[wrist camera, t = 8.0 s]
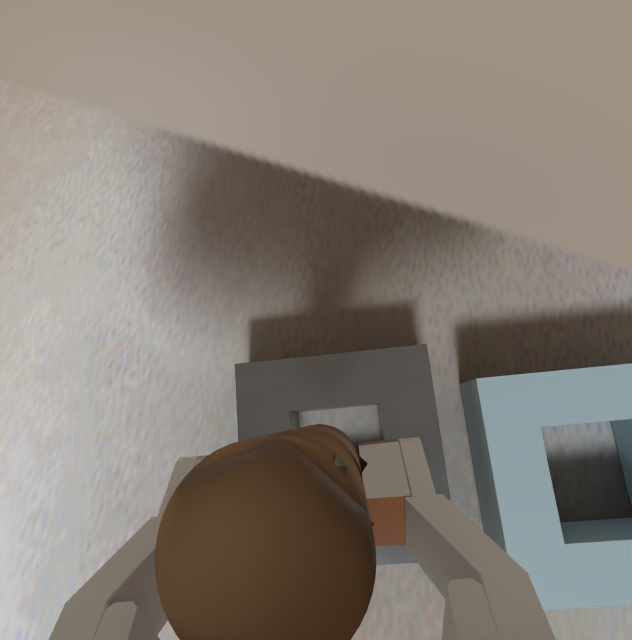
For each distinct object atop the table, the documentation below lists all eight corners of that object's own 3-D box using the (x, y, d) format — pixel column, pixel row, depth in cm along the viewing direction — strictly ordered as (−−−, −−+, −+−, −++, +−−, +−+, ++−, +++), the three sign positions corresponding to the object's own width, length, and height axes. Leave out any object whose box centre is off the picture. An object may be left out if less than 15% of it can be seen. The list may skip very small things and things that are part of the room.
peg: (284, 508, 16) (154, 690, 5) (279, 427, 17) (155, 446, 6) (363, 502, 16) (390, 677, 5) (354, 421, 17) (362, 428, 6)
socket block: (259, 553, 23) (244, 573, 20) (249, 369, 25) (235, 363, 22) (446, 540, 22) (459, 559, 19) (418, 352, 24) (426, 343, 22)
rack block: (492, 580, 22) (517, 611, 18) (459, 383, 24) (476, 378, 20) (700, 568, 21) (767, 597, 17) (646, 365, 23) (695, 357, 20)
